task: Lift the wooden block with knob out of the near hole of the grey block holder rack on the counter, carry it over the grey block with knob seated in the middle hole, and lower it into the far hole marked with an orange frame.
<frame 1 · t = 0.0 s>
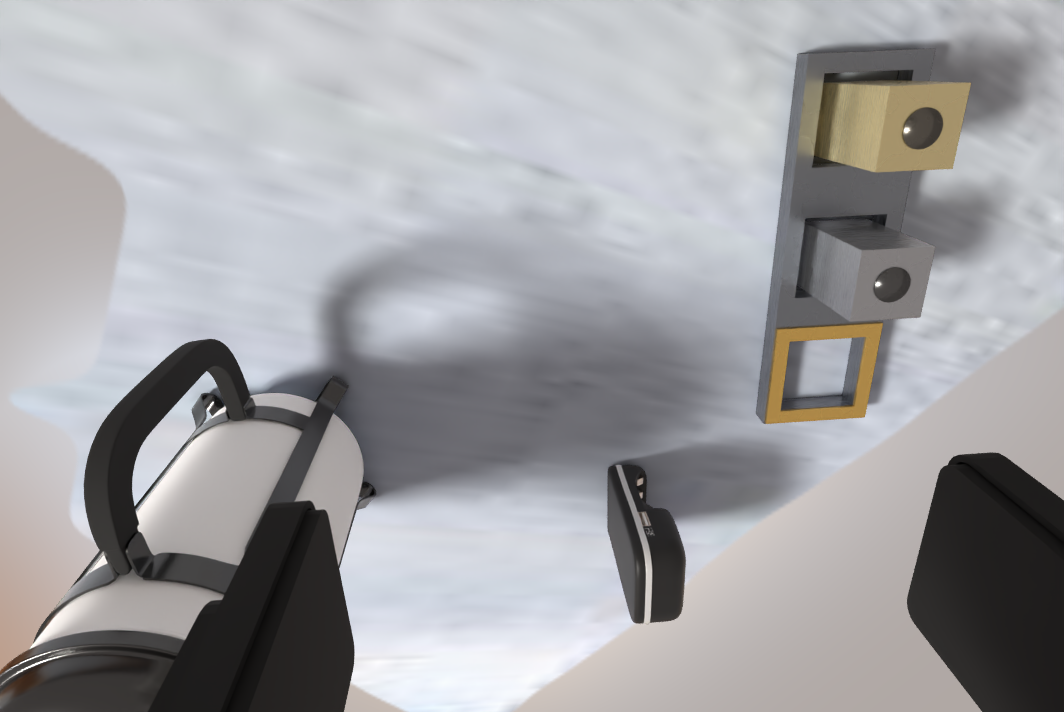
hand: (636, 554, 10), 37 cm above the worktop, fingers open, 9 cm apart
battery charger: (628, 493, 55), on the worktop
grey block with knob: (828, 251, 47), resting in grey block holder rack
coffee press: (282, 432, 50), on the worktop
grey block holder rack: (829, 251, 47), on the worktop
wooden block with knob: (848, 118, 43), resting in grey block holder rack
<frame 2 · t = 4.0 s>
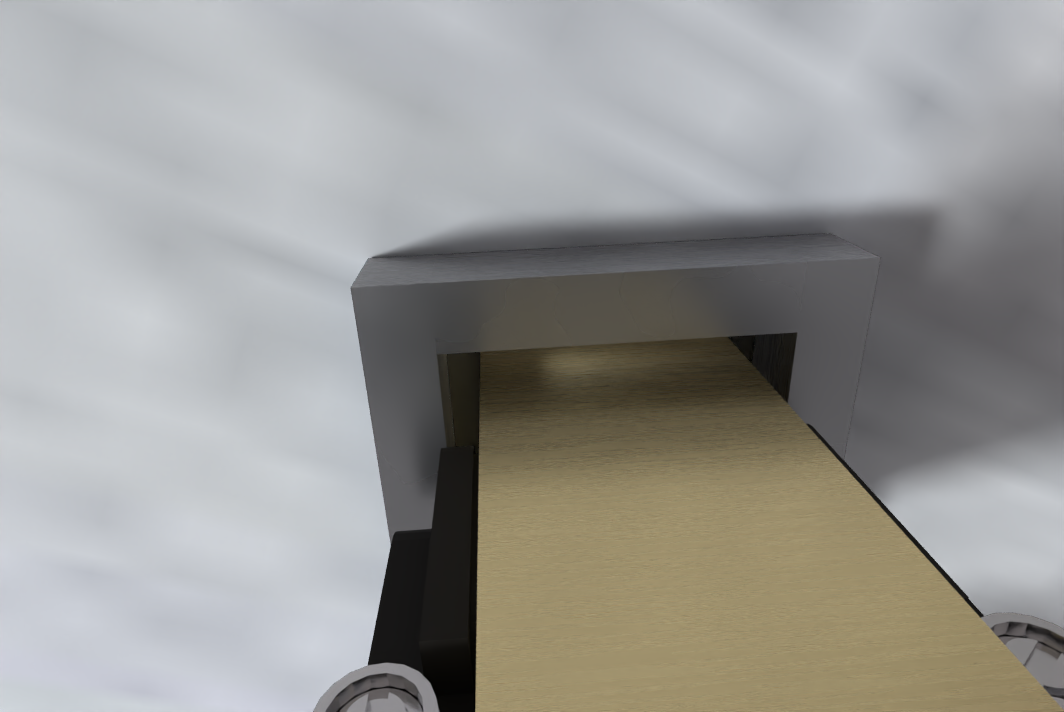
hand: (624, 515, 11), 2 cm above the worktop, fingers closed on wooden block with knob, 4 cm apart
wooden block with knob: (602, 446, 13), resting in grey block holder rack, touching gripper
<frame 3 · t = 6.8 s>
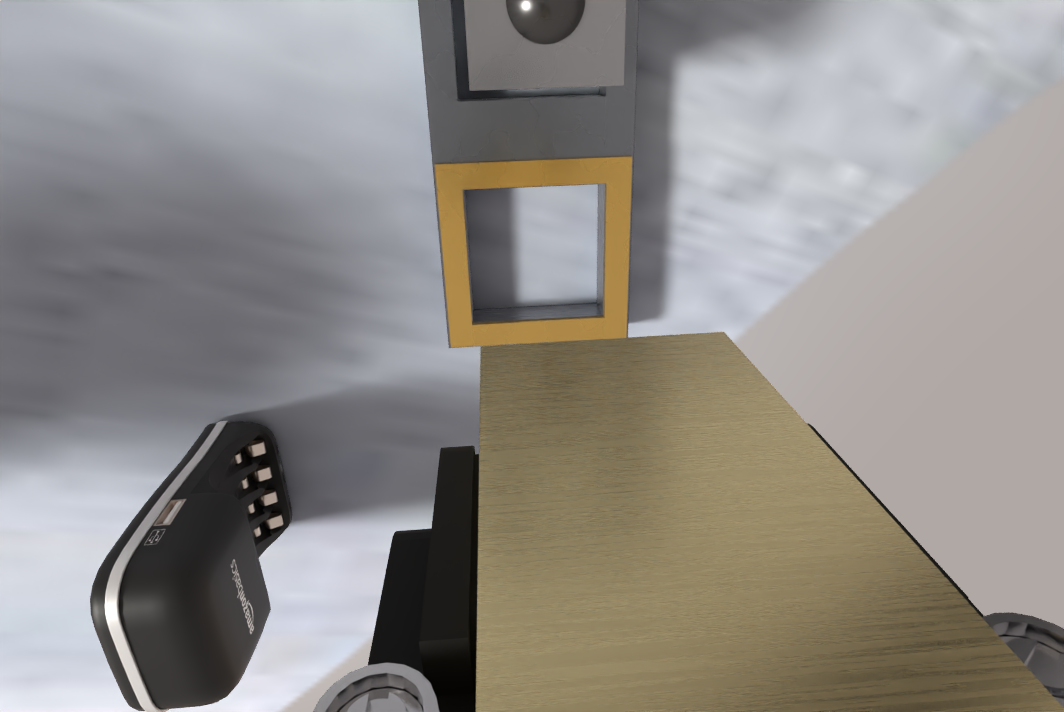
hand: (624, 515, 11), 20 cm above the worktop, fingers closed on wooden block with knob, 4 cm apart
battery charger: (262, 471, 33), on the worktop
grey block with knob: (527, 18, 25), resting in grey block holder rack
grey block holder rack: (527, 17, 25), on the worktop
wooden block with knob: (602, 444, 13), point 17 cm above the worktop, touching gripper
when the fingers open (3 cm above the worktop, at t = 9.7 s): wooden block with knob stays where it is, resting in grey block holder rack.
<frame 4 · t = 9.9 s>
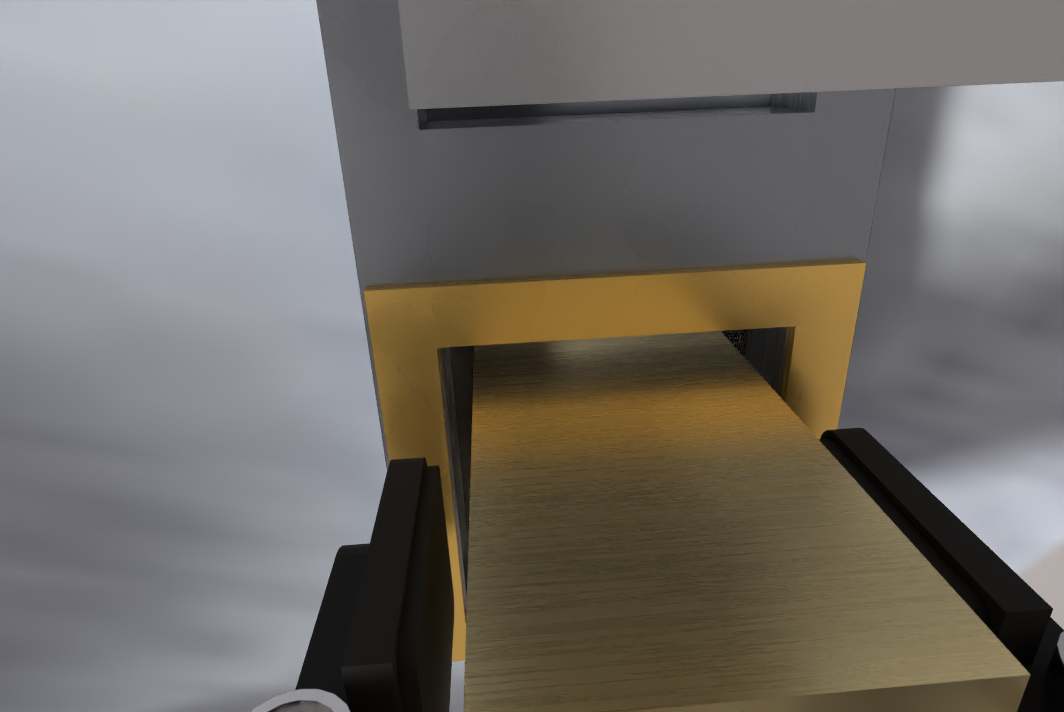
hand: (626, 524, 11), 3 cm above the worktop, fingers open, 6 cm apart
wooden block with knob: (594, 430, 13), resting in grey block holder rack
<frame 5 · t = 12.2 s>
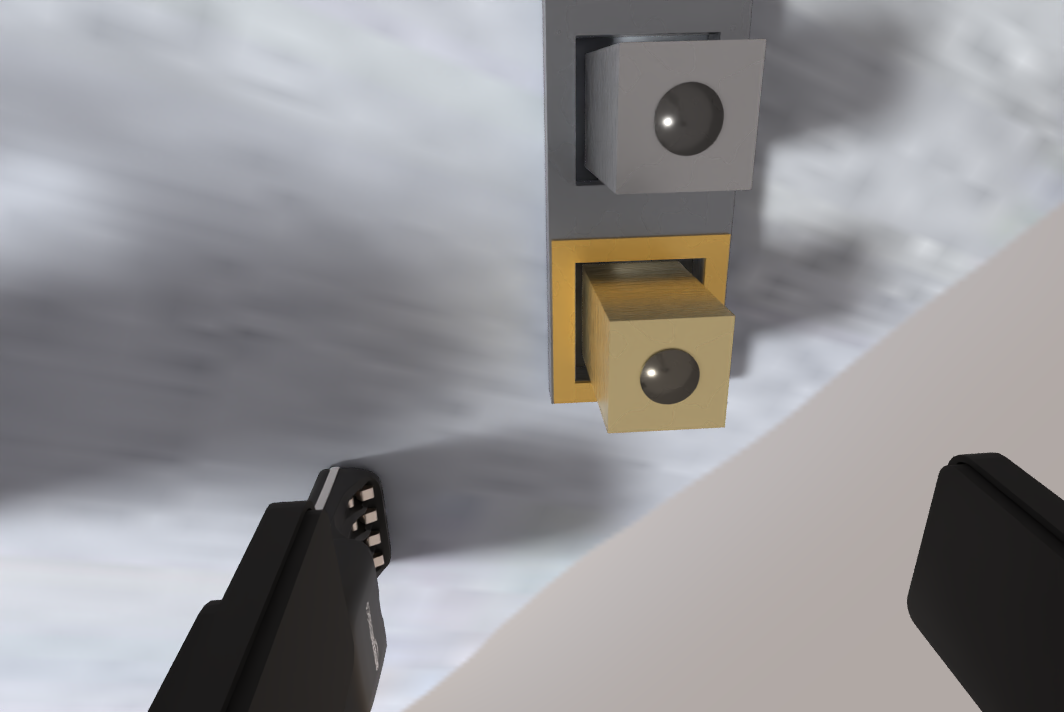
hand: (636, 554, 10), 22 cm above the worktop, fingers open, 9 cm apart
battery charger: (365, 513, 35), on the worktop
grey block with knob: (637, 110, 28), resting in grey block holder rack
grey block holder rack: (637, 110, 28), on the worktop
wooden block with knob: (628, 308, 32), resting in grey block holder rack
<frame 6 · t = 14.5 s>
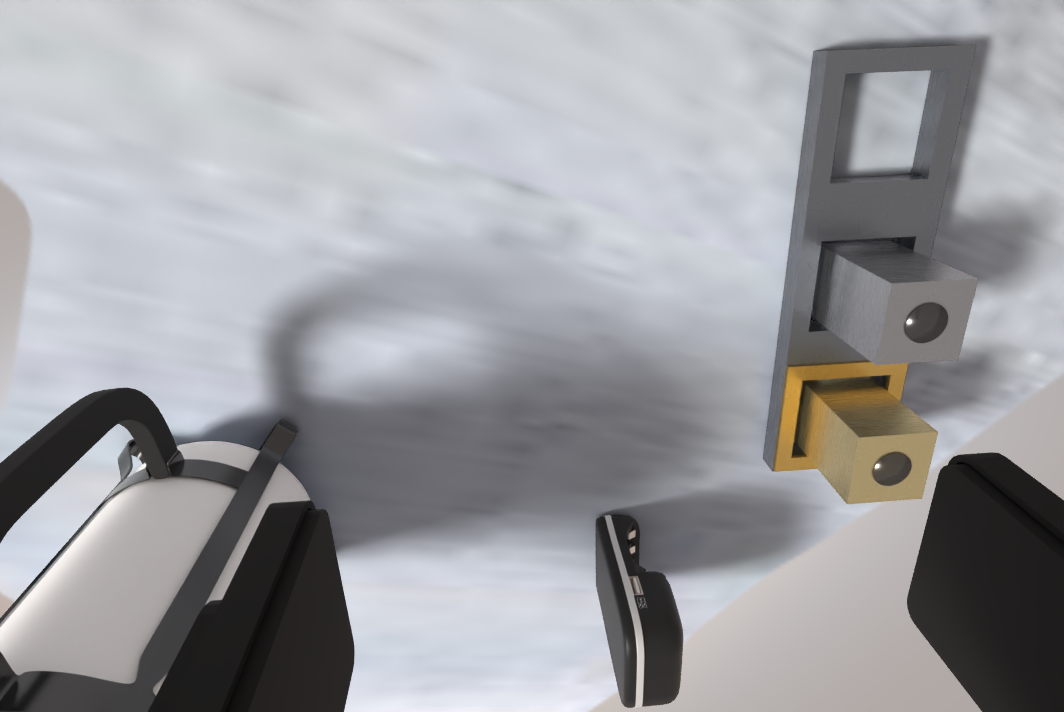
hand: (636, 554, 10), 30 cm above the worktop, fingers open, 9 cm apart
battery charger: (619, 546, 49), on the worktop
grey block with knob: (847, 277, 41), resting in grey block holder rack
coffee press: (225, 481, 44), on the worktop
grey block holder rack: (847, 277, 41), on the worktop
wooden block with knob: (825, 403, 45), resting in grey block holder rack
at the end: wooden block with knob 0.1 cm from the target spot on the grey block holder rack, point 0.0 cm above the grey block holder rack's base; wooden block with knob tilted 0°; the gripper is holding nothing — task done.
